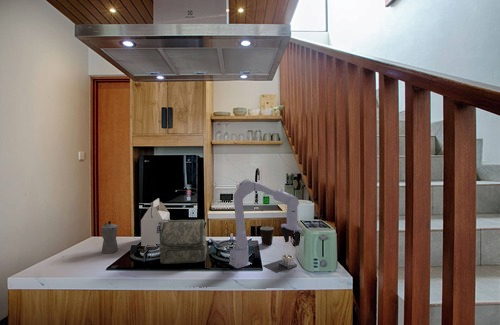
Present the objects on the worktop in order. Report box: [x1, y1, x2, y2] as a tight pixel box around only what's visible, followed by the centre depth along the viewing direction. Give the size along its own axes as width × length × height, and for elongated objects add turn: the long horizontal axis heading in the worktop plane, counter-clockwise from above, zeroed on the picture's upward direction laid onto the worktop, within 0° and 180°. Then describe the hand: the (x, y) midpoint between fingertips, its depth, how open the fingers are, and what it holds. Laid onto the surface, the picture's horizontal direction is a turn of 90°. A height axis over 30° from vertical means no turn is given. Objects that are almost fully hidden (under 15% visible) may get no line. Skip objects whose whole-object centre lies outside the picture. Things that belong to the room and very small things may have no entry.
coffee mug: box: [259, 226, 274, 246], centre depth 182 cm, size 12×9×10 cm
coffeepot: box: [100, 220, 119, 255], centre depth 167 cm, size 15×9×18 cm, turn 44°
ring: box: [281, 254, 295, 266], centre depth 144 cm, size 6×6×4 cm
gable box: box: [140, 197, 171, 246], centre depth 184 cm, size 22×13×28 cm, turn 6°
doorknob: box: [279, 256, 298, 270], centre depth 144 cm, size 6×6×5 cm
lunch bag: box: [157, 219, 208, 265], centre depth 155 cm, size 26×18×22 cm
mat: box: [262, 259, 288, 274], centre depth 143 cm, size 14×11×1 cm
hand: (291, 243), depth 149 cm, fingers open, 7 cm apart
